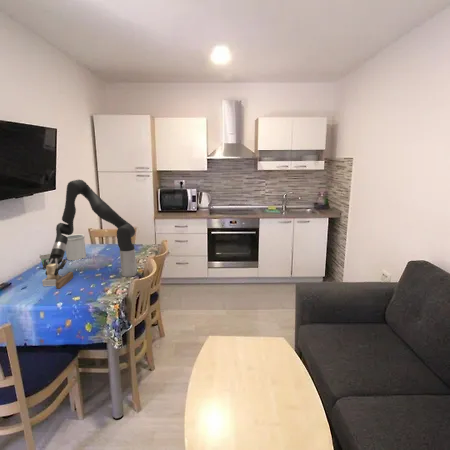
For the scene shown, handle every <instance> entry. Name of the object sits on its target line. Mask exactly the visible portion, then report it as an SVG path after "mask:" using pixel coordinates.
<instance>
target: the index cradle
mask: <svg viewBox="0 0 450 450" xmlns="http://www.w3.org/2000/svg"><path fill="white" fill-rule="evenodd" d="M62 277H63V275H62V274H59V279H61V278H62ZM59 279H58V280H59ZM58 280H57V281H58ZM57 281H56V280H48V278H47V277H45V278H44V279H42V280H41V282H42V286H43V287H52V286H53V287H56V282H57Z"/></svg>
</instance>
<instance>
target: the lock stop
mask: <svg viewBox="0 0 450 450" xmlns="http://www.w3.org/2000/svg"><path fill="white" fill-rule="evenodd" d="M55 269H56V264H49V265H47V266H46V269H45V272H46V271H47V275H46V276H47V277H46V278H48V280H56V281H57V280H58V279H59V275H60V274H59V273H58V274H57V275H56V276H55V275H54V273H55Z"/></svg>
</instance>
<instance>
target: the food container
mask: <svg viewBox="0 0 450 450" xmlns="http://www.w3.org/2000/svg"><path fill="white" fill-rule="evenodd" d="M50 254H51V253H47V254H39V259H40V261H41V264H42V268H43V269H44V270H46V269H45V268H44V260H49V258H50ZM48 264H49V262H48Z"/></svg>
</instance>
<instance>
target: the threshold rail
mask: <svg viewBox="0 0 450 450" xmlns="http://www.w3.org/2000/svg"><path fill="white" fill-rule="evenodd" d="M73 278H74V272H73V271H69V272H68V273H66V274H65V275H62V278H61V279H59V280H58V281H57V282H56V286H55V288H56V289H57V290H59V289H61V288H62V287H64V286H65V285H66V284H68V283H69V282H70V281H71V280H72V279H73Z"/></svg>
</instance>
